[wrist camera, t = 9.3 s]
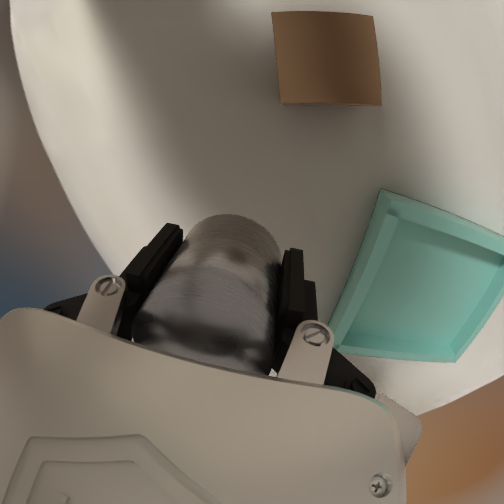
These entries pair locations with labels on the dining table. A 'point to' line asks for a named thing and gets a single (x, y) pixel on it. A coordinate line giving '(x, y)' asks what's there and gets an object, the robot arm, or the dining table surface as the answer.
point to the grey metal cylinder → (217, 297)
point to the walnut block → (326, 58)
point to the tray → (418, 284)
